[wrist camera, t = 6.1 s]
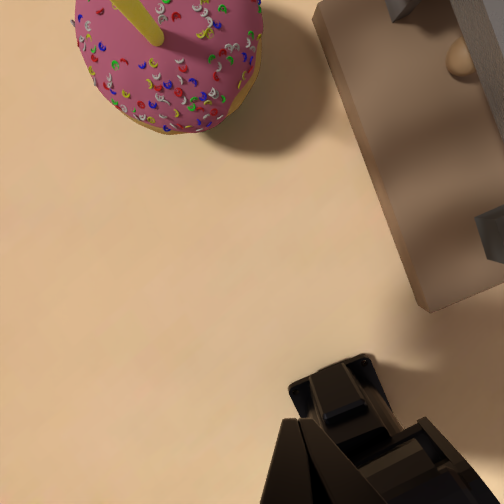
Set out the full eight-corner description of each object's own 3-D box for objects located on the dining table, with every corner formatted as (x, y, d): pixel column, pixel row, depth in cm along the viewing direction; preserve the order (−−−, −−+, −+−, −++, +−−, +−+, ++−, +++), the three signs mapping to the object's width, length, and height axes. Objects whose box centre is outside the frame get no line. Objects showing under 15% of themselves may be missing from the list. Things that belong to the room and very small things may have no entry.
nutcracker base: (581, 235, 20) (736, 254, 14) (418, 305, 21) (492, 353, 15) (505, -80, 16) (668, -253, 10) (312, 19, 17) (349, -83, 11)
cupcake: (257, 150, 19) (273, 74, 7) (124, 146, 19) (-87, 63, 7) (260, -2, 17) (289, -437, 5) (115, -8, 17) (-185, -469, 5)
